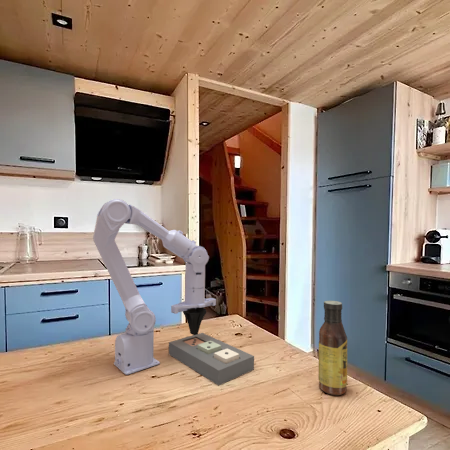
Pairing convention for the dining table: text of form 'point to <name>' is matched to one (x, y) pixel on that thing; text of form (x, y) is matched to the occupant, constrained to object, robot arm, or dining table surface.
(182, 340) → the tile tray
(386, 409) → the dining table surface
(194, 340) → the tile three
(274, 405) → the dining table surface
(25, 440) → the dining table surface
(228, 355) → the tile one
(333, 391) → the sauce bottle
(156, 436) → the dining table surface
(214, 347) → the tile two
